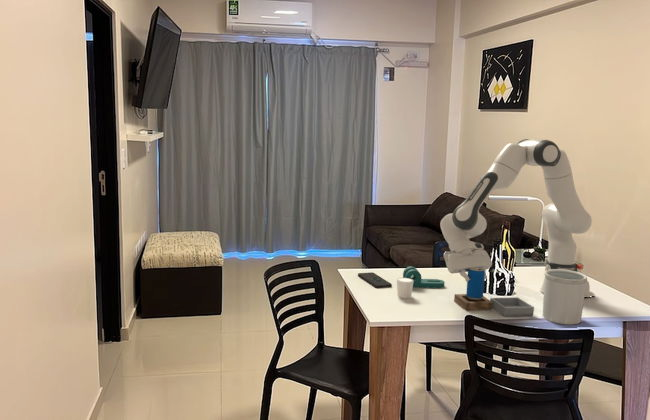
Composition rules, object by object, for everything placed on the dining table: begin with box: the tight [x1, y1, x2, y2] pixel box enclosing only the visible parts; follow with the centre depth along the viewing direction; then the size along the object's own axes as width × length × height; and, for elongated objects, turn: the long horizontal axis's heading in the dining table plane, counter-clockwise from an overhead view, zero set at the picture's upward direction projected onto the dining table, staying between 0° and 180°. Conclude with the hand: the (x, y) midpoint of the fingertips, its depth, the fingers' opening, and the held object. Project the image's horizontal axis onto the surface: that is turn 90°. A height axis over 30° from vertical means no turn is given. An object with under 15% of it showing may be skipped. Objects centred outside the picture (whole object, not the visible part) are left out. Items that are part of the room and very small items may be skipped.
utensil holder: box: [542, 269, 588, 325], centre depth 217 cm, size 15×15×18 cm
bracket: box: [402, 265, 446, 289], centre depth 254 cm, size 18×7×8 cm, turn 94°
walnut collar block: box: [453, 293, 494, 312], centre depth 229 cm, size 11×11×3 cm
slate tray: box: [489, 296, 535, 318], centre depth 225 cm, size 12×12×4 cm
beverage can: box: [465, 267, 486, 300], centre depth 228 cm, size 6×6×12 cm
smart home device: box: [357, 272, 393, 289], centre depth 258 cm, size 8×2×20 cm
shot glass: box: [396, 277, 414, 299], centre depth 238 cm, size 7×7×7 cm
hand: (476, 279), depth 227 cm, fingers closed on beverage can, 6 cm apart
